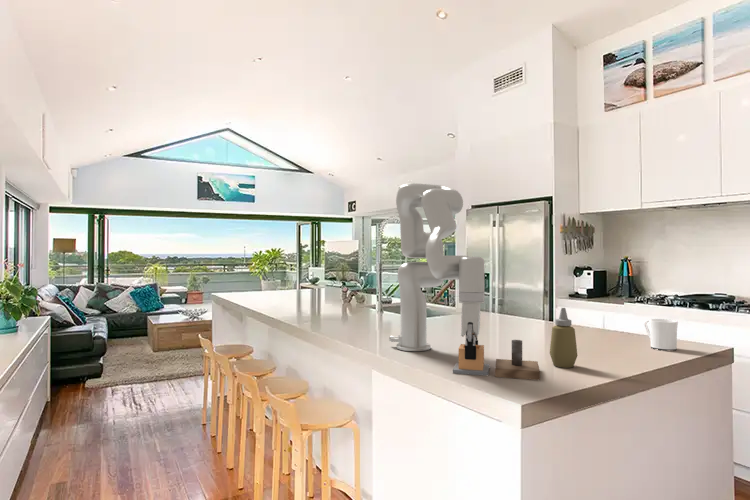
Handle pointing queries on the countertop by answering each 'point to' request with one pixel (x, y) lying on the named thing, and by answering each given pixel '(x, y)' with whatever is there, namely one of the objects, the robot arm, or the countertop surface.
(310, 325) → the countertop surface
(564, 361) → the squeeze bottle
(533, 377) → the stand
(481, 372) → the pad
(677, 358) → the countertop surface
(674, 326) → the mug
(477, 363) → the collar
